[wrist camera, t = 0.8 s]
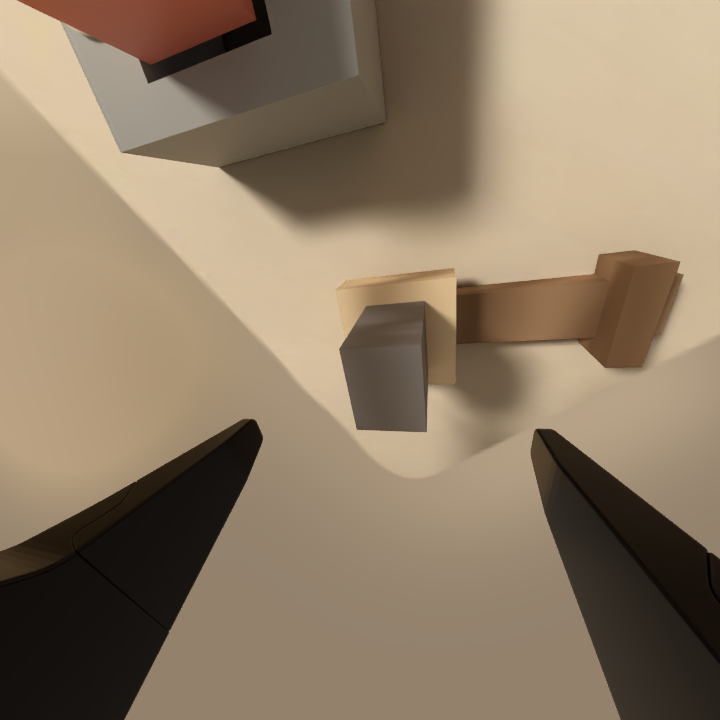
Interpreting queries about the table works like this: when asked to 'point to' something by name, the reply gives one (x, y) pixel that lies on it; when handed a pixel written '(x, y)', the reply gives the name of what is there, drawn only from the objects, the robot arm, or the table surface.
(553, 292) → the rail
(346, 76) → the grey slotted box
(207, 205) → the table surface
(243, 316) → the table surface
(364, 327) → the block stack
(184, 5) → the plunger
